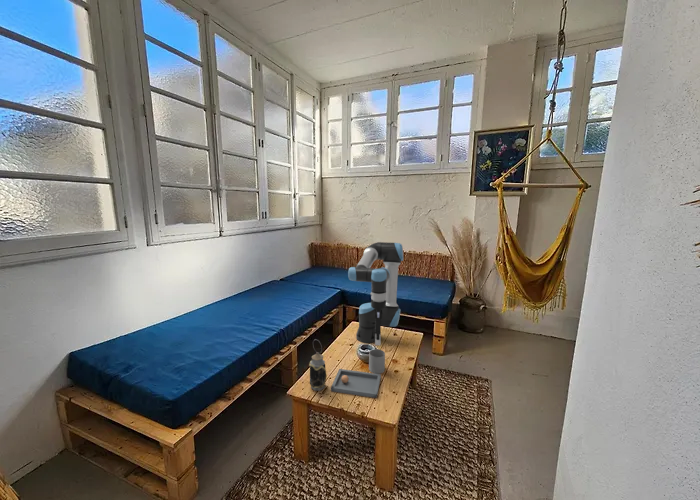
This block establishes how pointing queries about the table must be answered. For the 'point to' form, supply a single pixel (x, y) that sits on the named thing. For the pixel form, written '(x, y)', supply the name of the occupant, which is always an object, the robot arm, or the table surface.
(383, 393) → the table surface
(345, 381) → the ball
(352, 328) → the table surface
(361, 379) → the tray
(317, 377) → the lantern
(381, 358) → the cup
